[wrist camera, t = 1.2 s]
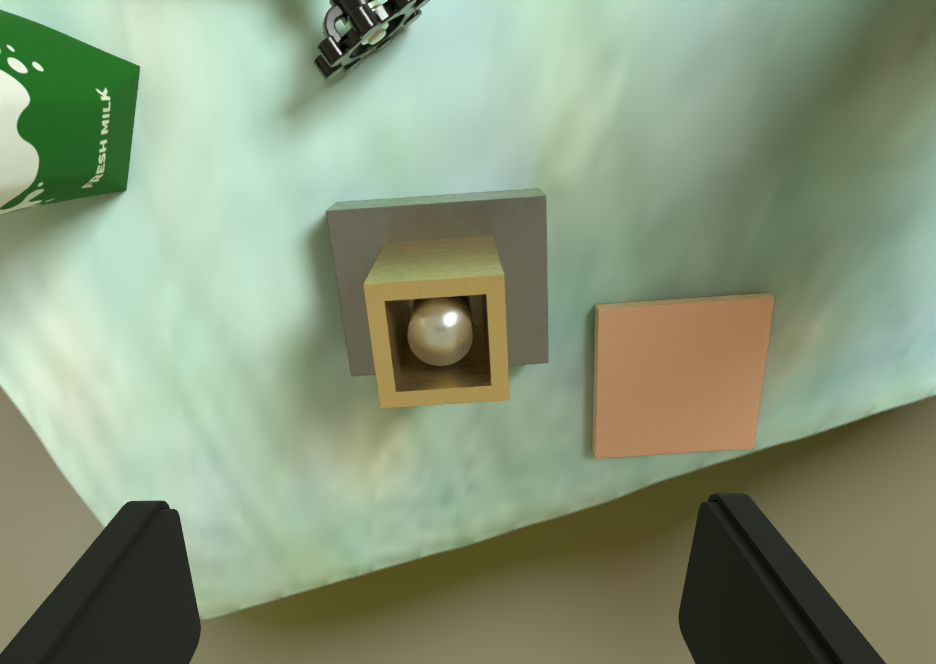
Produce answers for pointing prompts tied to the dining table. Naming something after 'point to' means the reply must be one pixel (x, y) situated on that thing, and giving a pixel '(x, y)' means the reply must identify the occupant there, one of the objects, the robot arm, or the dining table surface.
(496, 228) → the grey base with post
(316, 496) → the dining table surface
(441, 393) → the sleeve
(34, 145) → the milk carton
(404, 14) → the valve
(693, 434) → the tile
